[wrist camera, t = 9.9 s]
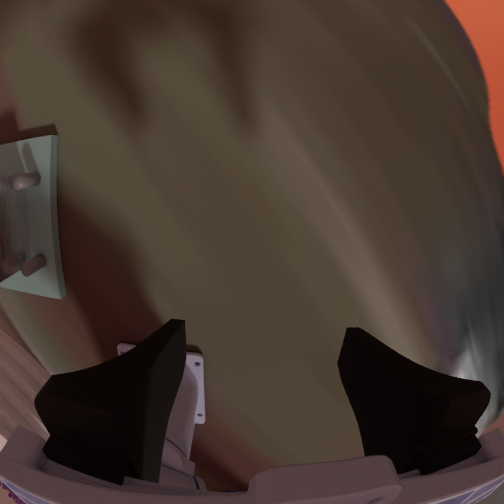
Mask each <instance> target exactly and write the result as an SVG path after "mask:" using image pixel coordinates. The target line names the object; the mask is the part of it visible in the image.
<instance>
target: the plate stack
mask: <svg viewBox="0 0 504 504" xmlns="http://www.w3.org/2000/svg"><path fill="white" fill-rule="evenodd" d="M50 377H51V376H50V375H49V373H48V372H47V371H46V370H45V369H44V368H43V367H42V366H41V365H40V364H39V363H38V362H37V361H36V360H35V359H34V358H33V357H32V356H31V355H30V354H29V353H28V352H27V351H26V350H25V349H24V348H23V347H21V346H20V345H19V344H18V343H17V342H16V341H15V340H14V339H12V338H11V337H10V336H9V335H7V334H6V333H5V332H3V331H2V330H1V329H0V452H1V450H2V449H3V447H4V446H5V444H6V442H7V441H8V439H9V438H10V436H11V435H12V433H13V432H14V430H15V429H16V427H17V426H20V427H22V428H24V429H26V430H29V431H31V432H33V433H35V434H37V435H39V436H40V437H42V438H43V439H44V440H45V441H46V442H47V440H48V438H49V436H50V435H49V433H48V431H47V429H46V428H45V426H44V424H43V423H42V421H41V419H40V417H39V415H38V413H37V411H36V409H35V405H34V399H35V397H36V395H37V394H38V392H39V391H40V390H41V388H42V387H43V386H44V384H45V383H46V382H47V380H48V379H49V378H50Z"/></svg>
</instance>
